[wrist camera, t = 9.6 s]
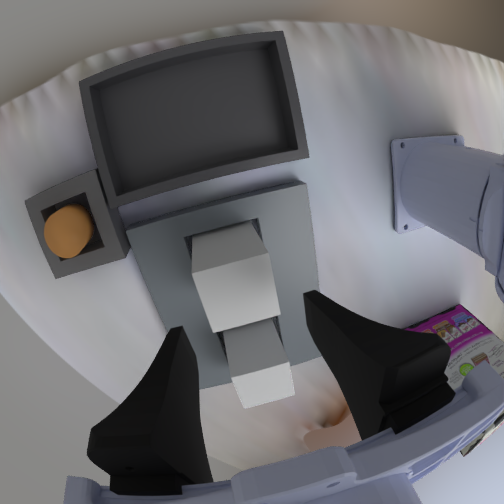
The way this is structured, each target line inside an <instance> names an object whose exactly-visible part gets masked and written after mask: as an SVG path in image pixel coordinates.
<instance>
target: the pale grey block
mask: <svg viewBox="0 0 504 504" xmlns="http://www.w3.org/2000/svg"><path fill="white" fill-rule="evenodd" d="M192 276H193V279H194V282H195V285H196V288H197V291H198V293H199V296H200V299H201V302H202V304H203V307H204V310H205V312H206V315H207V318H208V320H209V323H210V326H211V328H212V331H213V333H215V332H219V331H223V330H227V329H231V328H234V327H238V326H242V325H246V324H249V323H253V322H256V321H260V320H263V319H267V318H270V317H274V316H277V315H281V313H280V308H279V303H278V297H277V292H276V287H275V282H274V277H273V272H272V267H271V262H270V257H269V253H268V251H267V249H266V247H265V246H264V244H263V242H262V241H261V239H260V237H259V235H258V234H257V232H256V230H255V229H254V227H253V225H252V223H251V222H250V220H247V221H243V222H239V223H235V224H231V225H227V226H224V227H220V228H216V229H212V230H208V231H205V232H201V233H197V234H194V235H193V236H192Z"/></svg>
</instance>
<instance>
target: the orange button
mask: <svg viewBox="0 0 504 504" xmlns="http://www.w3.org/2000/svg"><path fill="white" fill-rule="evenodd" d="M93 234H94V220H93V217H92V215H91V214H90V212H89V211H88V210H87V209H86V208H85V207H84V206H82V205H80V204H76V203H71V204H68V205H66V206H64V207H63V208H61V209H60V210H58V211H57V212H55V213H54V214H52V215H51V216H50V217H49V218H48V219H47V221H46V223H45V227H44V237H45V241H46V243H47V245H48V247H49V248H50V250H51V251H52V252H53V253H54V254H56V255H57V256H59V257H62V258H72V257H75V256H76V255H77V254H79V252H80V251H81V250H82V249H83V248H84V247H85V245H86V244H87V243H88V242H89V241H90V240H91V238H92V236H93Z"/></svg>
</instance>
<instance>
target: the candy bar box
mask: <svg viewBox="0 0 504 504" xmlns="http://www.w3.org/2000/svg"><path fill="white" fill-rule="evenodd" d="M404 330H409V331H415V332H425V333H437V334H438V335H439V336H440V337H441V338H442V339H443V340H444V341H445V342H446V343H447V344H448V345H449V346H450V348H451V356H450V359H449V362H448V365H447V367H446V370H445V372H444V373H445V374H446V376H447V377H448V381H447V383H448V384H449V385H450V386H451V388H452V389H453V390H455V389H456V388H458V387H459V386H460V385H462V381H463V379H464V377H465V376H466V375H467V373H468V372H469V371H470V370H472V369H473V368H474V367H476V366H477V365H478V364H480V363H481V362H482V361H484V360H486V361H487V362H488V363H489V364H490V365H491V366H492V368H493V369H494V370H495V371H496V372H497V373H498V374H499V375H500V376H501V377H502V378H503V379H504V342H503V341H502V340H500V339H499V338H498V337H497V336H496V335H495V334H494V333H493V332H492V331H491V330H489V329H488V328H487V327H486V326H485V325H484V324H483V323H482V322H481V321H479V320H478V319H477V318H476V317H475V316H474V315H473V314H471V313H470V312H469V311H468V310H467V309H466V308H464V307H463V306H462V305H461V304H460V305H457V306H455V307H453V308H451V309H449V310H447V311H445V312H442V313H440V314H438V315H436V316H434V317H432V318H430V319H427V320H425V321H423V322H421V323H418V324H416V325H414V326H411V327H409V328H407V329H404ZM503 423H504V409H503V411H502V412H501V413H500V415H499V416H498V417H497V419H496V420H495V421H494V422H493V423H492V424H491V425H490V426H489V427H488V428H487V429H486V430H484V431H483V432H482V433H481V434H480V435H479V436H477V437H476V438H475V439H474V440H473V441H471V442H470V443H469V444H468V445H466V446H465V447H464V448H463V449H462V450H460V452H461V454H462V455H463V457H464V456H465V455H467V454H468V453H469V452H471V451H472V450H473V449H475V448H476V447H477V446H478V445H480V444H481V443H482V442H483V441H485V440H486V439H487V438H488V437H489V436H490V435H491V434H492V433H494V432H495V431H496V430H497V429H498V428H499V427H500V426H501V425H502V424H503Z"/></svg>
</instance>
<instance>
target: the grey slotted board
mask: <svg viewBox="0 0 504 504" xmlns="http://www.w3.org/2000/svg"><path fill="white" fill-rule="evenodd" d="M255 218H256V221H257V226H258V231H259V236H260V239H261V241H262V242H263V244H264V246H265V247H266V249H267V251H268V253H269V257H270V262H271V267H272V272H273V277H274V282H275V287H276V292H277V297H278V303H279V308H280V313H281V315H277V316H276V319H277V324H278V329H279V334H280V339H281V343H282V345H283V348H284V350H285V353H286V355H287V357H288V360H289V363H290V366H293V365H296V364H300V363H303V362H306V361H309V360H312V359H315V358H318V357H321V356H322V355H321V353H320V351H319V350H318V348H317V347H316V345H315V343H314V341H313V339H312V337H311V335H310V332H309V330H308V328H307V324H306V315H305V307H304V299H303V293H305V292H308V291H312V290H316V291H318V292H320V291H319V280H318V270H317V261H316V251H315V243H314V234H313V226H312V219H311V211H310V204H309V197H308V190H307V184H306V183H304V182H302V181H297V182H292V183H287V184H283V185H278V186H274V187H270V188H265V189H261V190H257V191H252V192H248V193H244V194H240V195H236V196H232V197H228V198H224V199H220V200H216V201H212V202H209V203H205V204H201V205H197V206H194V207H190V208H186V209H183V210H179V211H176V212H172V213H169V214H165V215H162V216H158V217H155V218H152V219H148V220H145V221H142V222H138V223H135V224H132V225H129V227H128V228H127V230H126V234H127V236H128V239H129V242H130V244H131V247H132V250H133V252H134V255H135V258H136V260H137V263H138V265H139V268H140V270H141V273H142V275H143V278H144V280H145V282H146V285H147V287H148V290H149V292H150V294H151V296H152V299H153V301H154V303H155V306H156V308H157V310H158V312H159V314H160V317H161V319H162V321H163V323H164V325H165V327H166V329H167V331H168V332H169V330H170V328H174V327H178V326H182V325H183V328H184V330H185V332H186V334H187V337H188V339H189V341H190V343H191V345H192V348H193V350H194V352H195V354H196V357H197V364H198V371H199V389H204V388H209V387H214V386H218V385H223V384H227V383H231V382H232V379H231V375H230V370H229V364H228V359H227V355H226V352H225V349H224V347H223V344H222V341H221V339H220V336H219V333H218V332H215V333H213V331H212V328H211V326H210V323H209V320H208V318H207V315H206V312H205V310H204V307H203V304H202V302H201V299H200V296H199V293H198V291H197V288H196V285H195V282H194V279H193V276H192V254H191V251H190V248H189V245H188V242H187V239H186V236H190V235H194V234H197V233H201V232H205V231H208V230H212V229H216V228H220V227H224V226H227V225H231V224H235V223H239V222H243V221H247V220H251V219H255Z"/></svg>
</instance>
